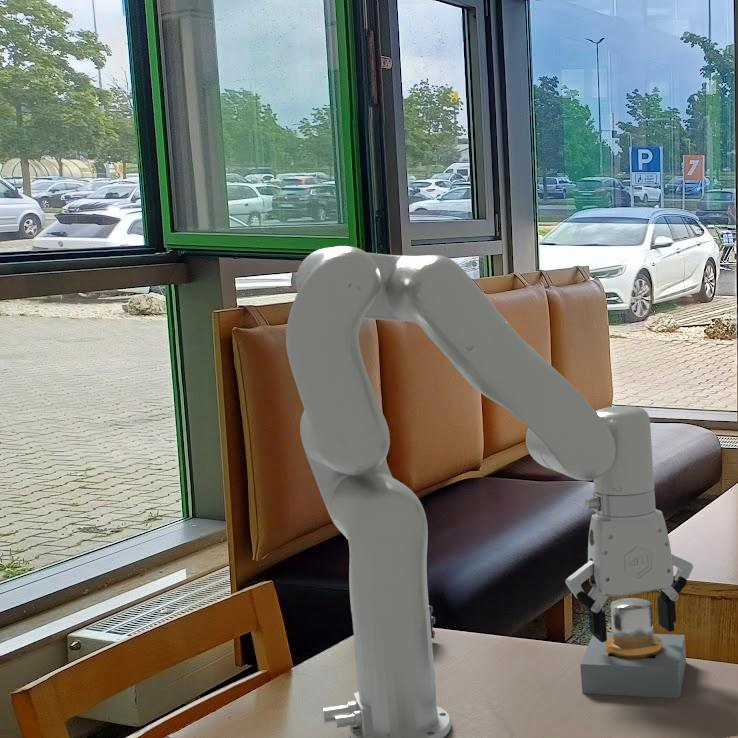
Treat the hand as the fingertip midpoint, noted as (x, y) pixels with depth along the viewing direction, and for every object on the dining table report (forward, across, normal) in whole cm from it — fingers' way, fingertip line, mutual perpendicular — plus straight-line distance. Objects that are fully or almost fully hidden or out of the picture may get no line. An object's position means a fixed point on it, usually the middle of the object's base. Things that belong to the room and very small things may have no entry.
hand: (633, 633), depth 149 cm
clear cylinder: (+6, 0, 0) cm, 6 cm away
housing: (+7, 0, 0) cm, 7 cm away
